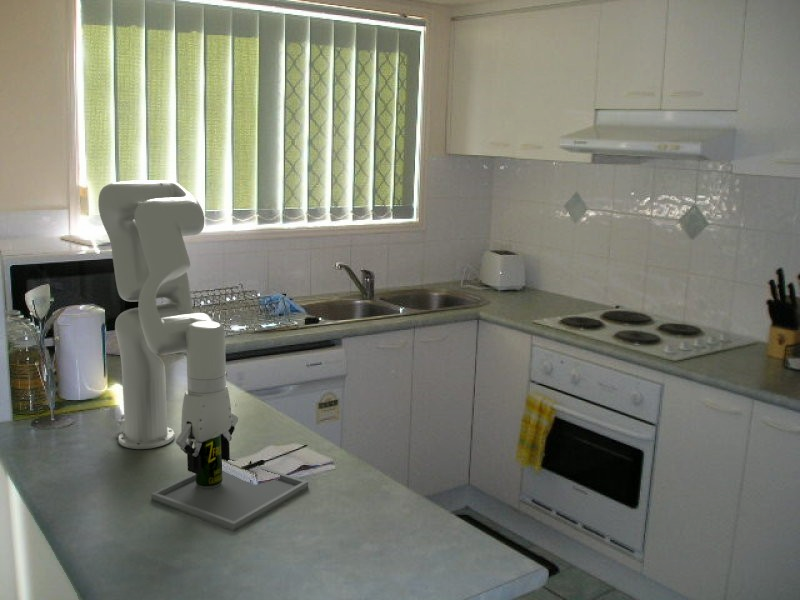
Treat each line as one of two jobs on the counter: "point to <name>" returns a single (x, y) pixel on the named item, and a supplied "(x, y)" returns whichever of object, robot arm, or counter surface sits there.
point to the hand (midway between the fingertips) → (209, 464)
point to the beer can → (210, 463)
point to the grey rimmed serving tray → (229, 498)
